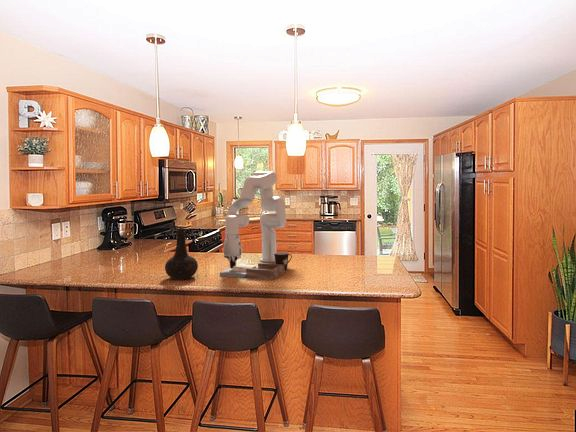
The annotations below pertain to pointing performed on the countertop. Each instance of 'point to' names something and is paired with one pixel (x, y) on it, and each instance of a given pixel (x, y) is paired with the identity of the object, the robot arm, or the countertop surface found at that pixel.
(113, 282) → the countertop surface
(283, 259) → the coffee mug
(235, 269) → the cream tile
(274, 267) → the box
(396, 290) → the countertop surface
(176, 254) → the dark bulbous vase
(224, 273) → the slate plate
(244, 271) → the cream tile
